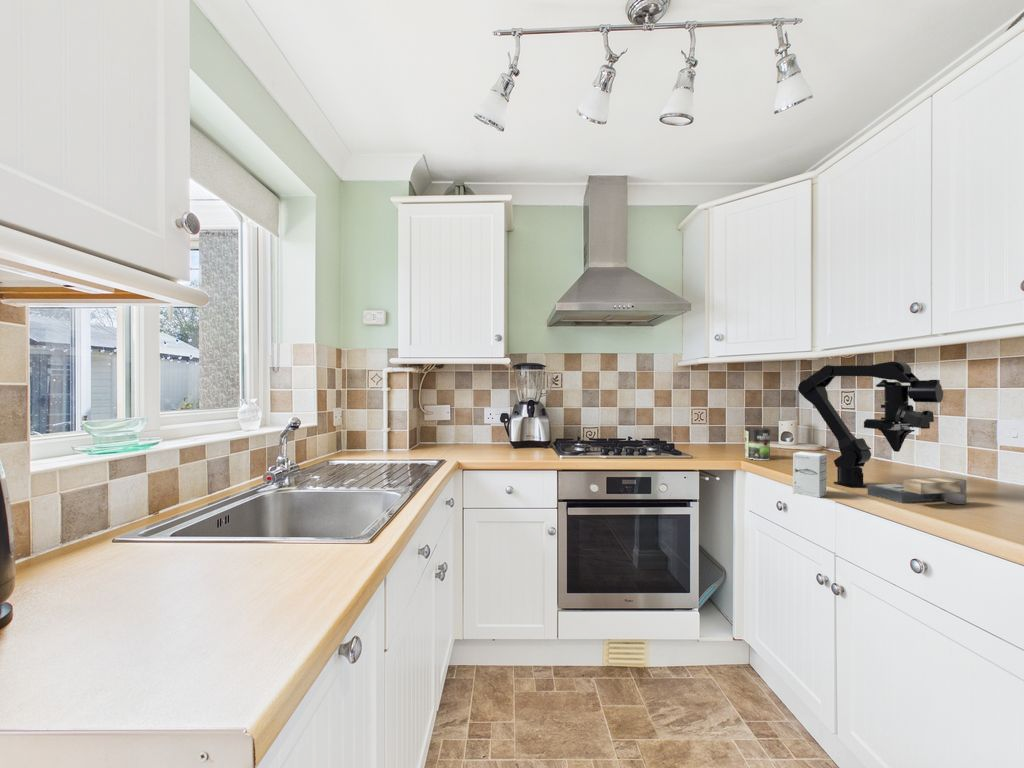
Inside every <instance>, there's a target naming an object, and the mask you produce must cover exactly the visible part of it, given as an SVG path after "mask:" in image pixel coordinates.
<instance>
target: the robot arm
mask: <svg viewBox="0 0 1024 768" xmlns="http://www.w3.org/2000/svg"><path fill="white" fill-rule="evenodd" d="M836 377H871V378H876V379H877V378H878V379H881V381H880V382H878V383H877V384H875V387H877V388H884V393H883V394H884V399H883V400H884V403H883V404H880V408H881V409H883V410H884V417H883V416H882V417H880V419H879V418H866V419H865V420H864V421H863V429H874V430H878V431H880V432H881V433H882V434H883V436H884V437H885V439H886V440H887V442H888V444H889V446H890V447H891V449H892V450H893V452H898V453H899V452H900V451H901V449H902V447H903V444H904V442H905V439H906V437H907V436H908V435H909V434H911V433H912V432H915V431H916V430H915V429H911V428H918V429H921V430H922V429H923V430H926V429H927V430H928V429H931V427H930V426H931V423H933V422H935V420H934V419H935V417H934V412H933V411H931V410H923V411H916V410H914V406H913V404H909V399H910V400H912V401H913V402H914V403H935V404H937V403H938V404H939V403H942V401H943V398H944V390H943V388H942V387H943V386H942V385H941V381H940V379H929V380H928V379H927V380H920V379H919V377H917V376H916V375H915V374H914V373H913V372H912V368H911V366H910V365H909V364H908V363H907V362H903V361H886V362H880V363H876V364H870V365H869V364H868V365H865V364H864V365H863V364H862V365H835V364H834V365H829V364H826V365H824V366H822V367H821V368H820V369H819V370H818V371H817V372H815V373H813V374H812V375H810V376H809V377H808V378H806V379H803V380H802V381H800V382H799V384H798V387H797V390H798V393H799V394H801V396H802V397H803V398H804V399H805V400H807V401H808V402H809V403H811V404H812V405H813V406H814V407H815V409H816V410H817V412H818V413H819V415H820V416H821V418H822V419H823V421H824V422H825V424H826V425H827V427H828V428H829V429H830V431H831V432H832V434H833V436H834V437H835V439H836V441H837V443H838V450H839V453H840V454H841V455H839V456H838V457H837V458H835V459H834V460H833V463H834V465H835V467H836V468H837V477H836V478H837V481H833V484H836V485H840V486H844V487H848V488H859V487H867V484H865V483H864V473H863V467H864V466H865V464H866V463H867V462H869V460H870V459H871V456H872V452H871V450H872V448H871V447H870V446H869V445H868V443H867V442H866V441H865V438H863V437H860V438H857V437H855V436H854V435H853V434H852V432H851V431H850V429H849V428H848V427H847V425H846V423H845V422H844V420H843V419H842V418H841V416H840V415H839V413H838V412H837V410H836V409H835V407H834V406H833V405H832V403H831V401H830V400H829V396H828V391H827V389H826V387H828V385H830V383H832V381H833V379H834V378H836ZM888 380H889V381H888ZM904 383H905V384H908V385H903V384H904Z"/></svg>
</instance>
